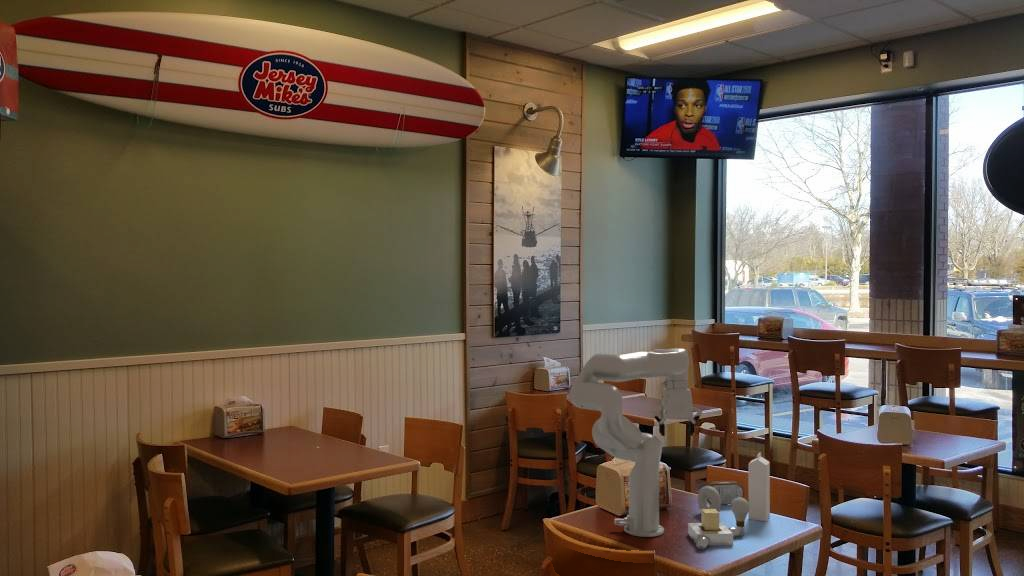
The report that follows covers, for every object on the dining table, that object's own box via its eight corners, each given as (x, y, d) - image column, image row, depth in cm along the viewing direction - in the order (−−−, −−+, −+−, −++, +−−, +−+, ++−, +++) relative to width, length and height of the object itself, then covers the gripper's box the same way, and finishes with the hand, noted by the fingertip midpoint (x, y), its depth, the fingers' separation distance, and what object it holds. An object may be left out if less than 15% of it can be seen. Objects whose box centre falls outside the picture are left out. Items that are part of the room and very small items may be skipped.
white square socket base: (697, 545, 242) (697, 534, 242) (688, 534, 253) (688, 523, 253) (733, 545, 242) (733, 533, 242) (722, 533, 253) (722, 522, 253)
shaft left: (701, 543, 244) (701, 533, 244) (710, 544, 243) (710, 535, 243) (695, 549, 239) (695, 539, 239) (705, 550, 237) (705, 540, 237)
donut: (723, 518, 271) (723, 488, 271) (716, 519, 269) (716, 490, 269) (702, 510, 279) (702, 482, 279) (695, 512, 277) (695, 483, 277)
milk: (748, 519, 269) (747, 454, 269) (752, 514, 275) (751, 450, 274) (767, 521, 266) (766, 456, 266) (770, 516, 272) (769, 452, 272)
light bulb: (750, 531, 256) (750, 500, 256) (731, 530, 257) (731, 499, 257) (748, 526, 261) (748, 495, 261) (730, 525, 263) (730, 494, 263)
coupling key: (705, 542, 246) (705, 513, 245) (701, 537, 250) (701, 509, 250) (719, 541, 246) (719, 512, 246) (715, 537, 250) (715, 508, 250)
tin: (741, 502, 290) (741, 479, 290) (745, 505, 287) (745, 481, 287) (702, 504, 288) (702, 481, 288) (705, 506, 285) (705, 483, 285)
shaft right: (726, 539, 248) (726, 529, 248) (721, 536, 251) (721, 527, 251) (743, 537, 250) (743, 528, 249) (738, 534, 252) (738, 525, 252)
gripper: (653, 386, 266) (653, 437, 266) (704, 386, 267) (705, 437, 267) (649, 383, 274) (649, 433, 274) (698, 383, 274) (699, 432, 274)
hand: (676, 435), depth 270 cm, fingers open, 9 cm apart
